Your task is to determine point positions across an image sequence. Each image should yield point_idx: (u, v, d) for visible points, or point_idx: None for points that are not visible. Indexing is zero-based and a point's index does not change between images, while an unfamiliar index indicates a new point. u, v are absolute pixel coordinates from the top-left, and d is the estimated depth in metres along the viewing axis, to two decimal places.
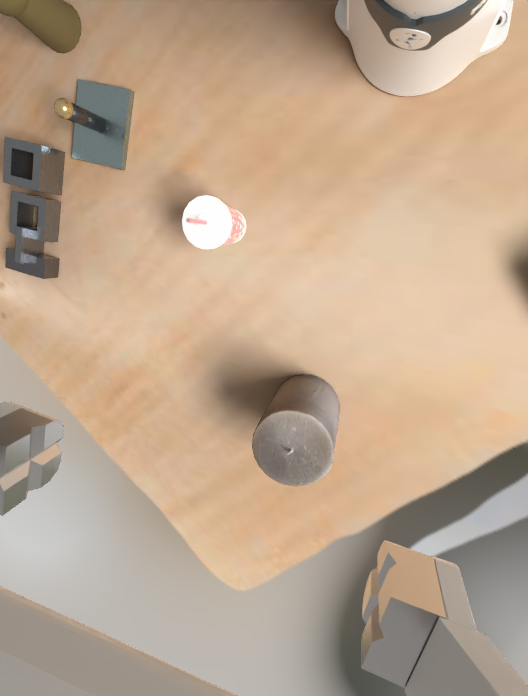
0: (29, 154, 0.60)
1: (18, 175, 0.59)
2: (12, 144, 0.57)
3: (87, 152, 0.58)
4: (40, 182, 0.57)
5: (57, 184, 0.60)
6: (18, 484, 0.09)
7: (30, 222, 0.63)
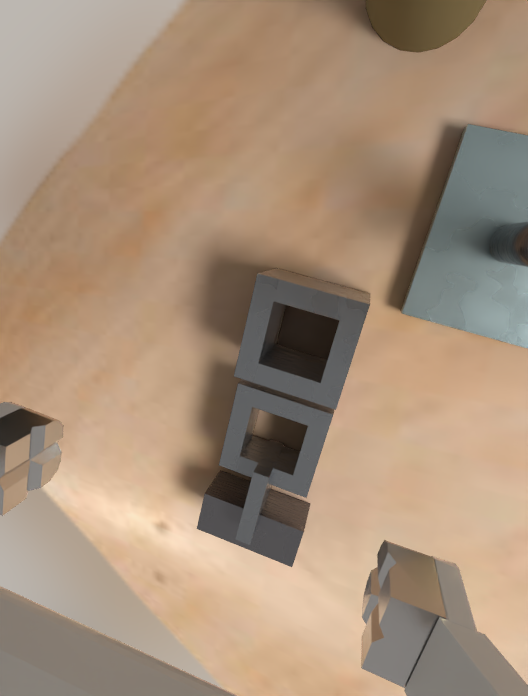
0: None
1: (265, 354, 0.24)
2: (276, 294, 0.22)
3: (452, 306, 0.23)
4: (342, 388, 0.22)
5: None
6: (18, 484, 0.09)
7: (253, 429, 0.29)
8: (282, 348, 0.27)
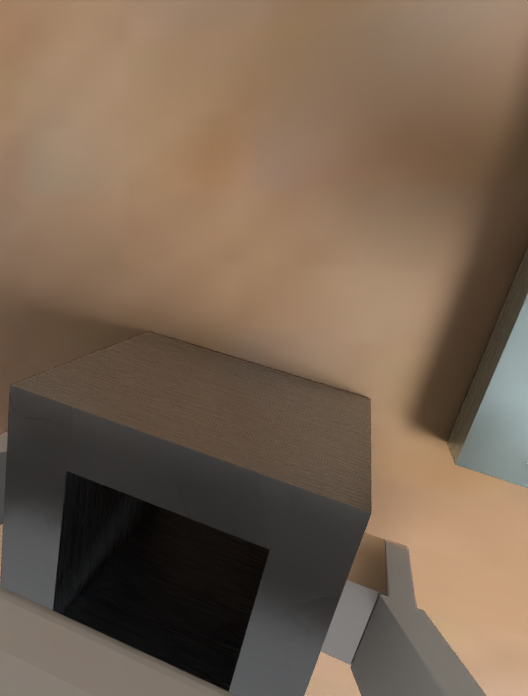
0: None
1: (96, 568, 0.09)
2: (70, 451, 0.07)
3: None
4: None
5: None
6: None
7: None
8: None
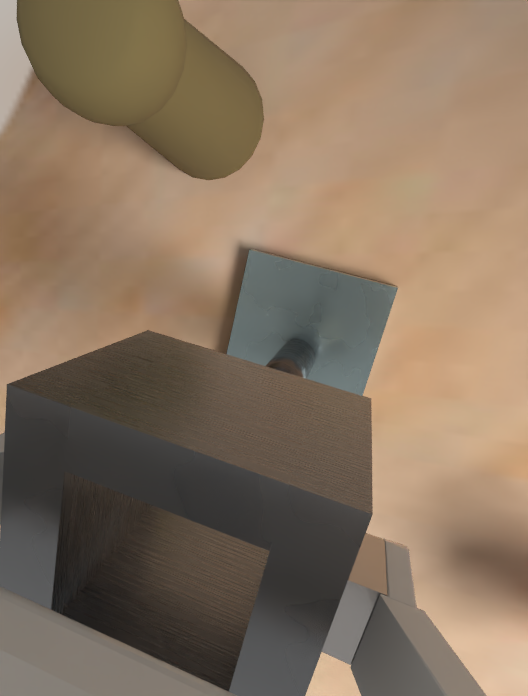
0: None
1: (95, 569, 0.09)
2: (68, 451, 0.07)
3: None
4: None
5: None
6: None
7: None
8: None
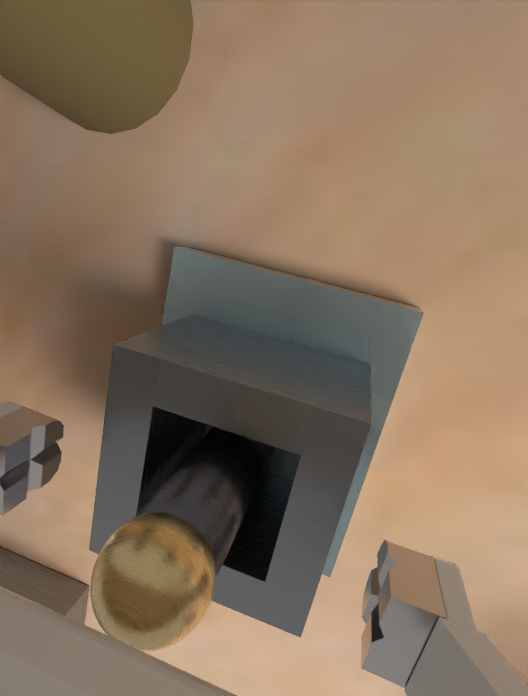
0: None
1: None
2: (156, 391, 0.09)
3: None
4: None
5: None
6: (18, 484, 0.09)
7: None
8: None
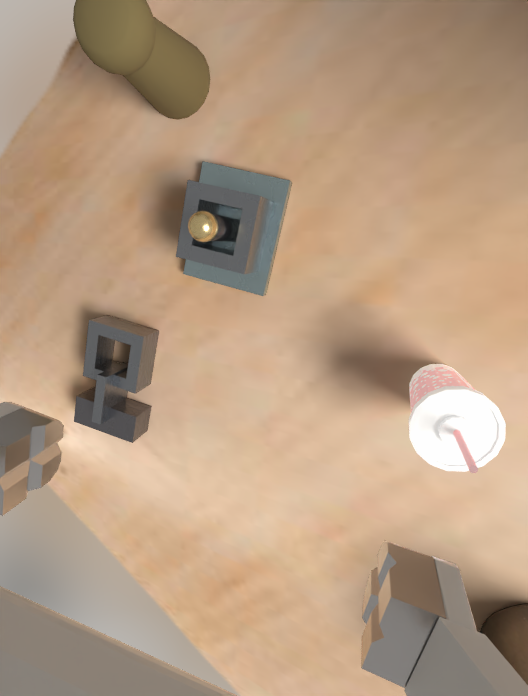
0: (213, 206, 0.35)
1: (198, 243, 0.34)
2: (200, 193, 0.32)
3: (209, 268, 0.38)
4: (248, 259, 0.32)
5: (259, 256, 0.35)
6: (18, 484, 0.09)
7: (110, 355, 0.43)
8: None
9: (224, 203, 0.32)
